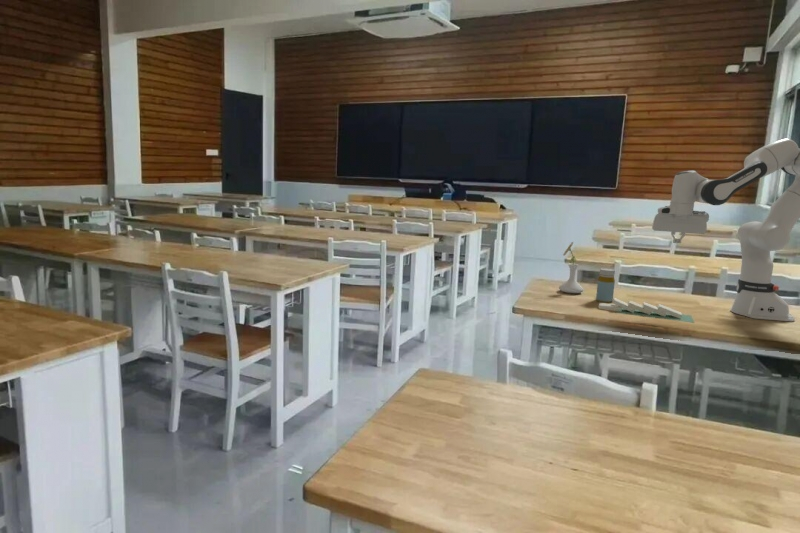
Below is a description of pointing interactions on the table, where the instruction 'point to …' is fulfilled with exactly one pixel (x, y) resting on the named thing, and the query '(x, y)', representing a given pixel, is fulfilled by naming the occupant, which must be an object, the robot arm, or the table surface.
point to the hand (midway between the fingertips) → (676, 243)
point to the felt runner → (657, 315)
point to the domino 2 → (638, 307)
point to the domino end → (609, 307)
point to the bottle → (605, 285)
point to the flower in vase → (571, 277)
